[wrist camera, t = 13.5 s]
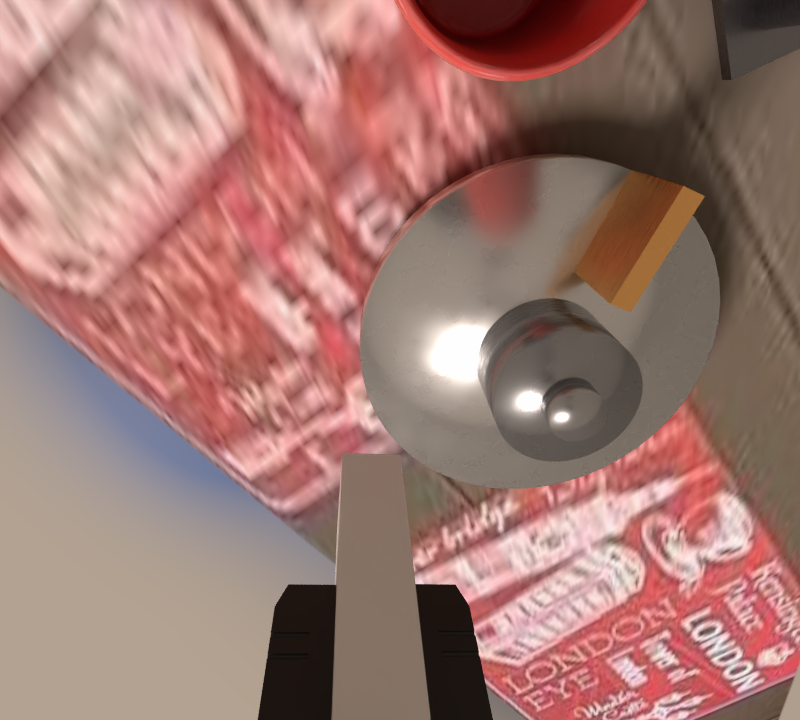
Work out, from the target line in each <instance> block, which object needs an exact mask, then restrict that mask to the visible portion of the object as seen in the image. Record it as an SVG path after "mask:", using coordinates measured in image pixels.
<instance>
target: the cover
mask: <svg viewBox="0 0 800 720" xmlns="http://www.w3.org/2000/svg"><path fill="white" fill-rule="evenodd" d="M477 375H478V379H479V382H480V384H481V387H482V389H483V392H484V394H485V397H486V399H487V402H488V404H489V407H490V409H491V412H492V414H493V417H494V419H495V422H496V424H497V427H498V429H499V431H500V433H501V435H502V437H503V438H504V439H505V441H506V442H507V443H508V444H509V445H510V446H511V447H512V448H514V449H515V450H516V451H518V452H519V453H521V454H523V455H525V456H527V457H530V458H533V459H537V460H541V461H549V462H560V461H569V460H574V459H578V458H581V457H585V456H587V455H590V454H592V453H594V452H596V451H598V450H600V449H602V448H604V447H605V446H607V445H608V444H610V443H611V442H612V441H613V440H615V439H616V438H617V437H618V436H619V435H620V434H621V433H622V432H623V431H624V430H625V429H626V428H627V426H628V425H629V424H630V422H631V421H632V419H633V418H634V416H635V414H636V412H637V410H638V407H639V405H640V402H641V397H642V392H643V381H642V374H641V371H640V368H639V366H638V364H637V361H636V360H635V358H634V357H633V356H632V354H631V353H630V352H629V351H628V350H627V349H626V348H625V347H624V346H623V345H622V344H621V343H620V342H619V341H618V340H617V339H616V338H615V337H614V336H613V335H612V334H611V333H610V332H609V331H608V330H607V329H606V328H605V327H604V326H603V325H602V324H601V323H600V322H599V321H598V320H597V319H596V318H595V317H594V316H593V315H592V314H591V313H590V312H589V311H588V310H586V309H585V308H583V307H582V306H580V305H578V304H576V303H574V302H571V301H568V300H563V299H556V298H546V299H538V300H533V301H529V302H526V303H523V304H521V305H519V306H517V307H515V308H513V309H511V310H510V311H508V312H507V313H505V314H504V315H503V316H501V317H500V318H499V319H498V320H497V321H496V322H495V323H494V324H493V325H492V326H491V328H490V329H489V330H488V332H487V333H486V335H485V336H484V338H483V340H482V342H481V344H480V348H479V351H478V355H477Z"/></svg>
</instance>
